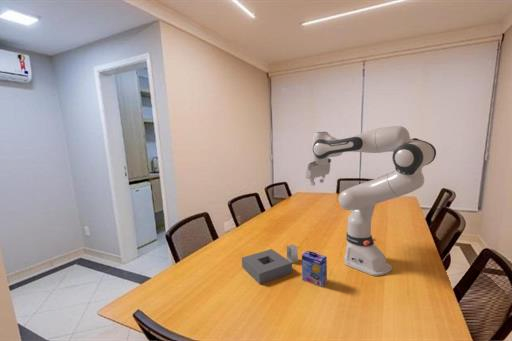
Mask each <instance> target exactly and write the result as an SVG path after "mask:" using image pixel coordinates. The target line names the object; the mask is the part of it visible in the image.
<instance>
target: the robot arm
mask: <svg viewBox="0 0 512 341" xmlns="http://www.w3.org/2000/svg"><path fill="white" fill-rule="evenodd" d="M311 150H312V151H311V154H310V161H309V163H308V164H307V166H306V171H305V178H306V179H309V180H310V181H309V182H310V186H316V185H315V184H316V182H315V179H316V178H319V183H321V184H323V183H324V182H325V177H326V176H327V175H329V174H330V171H331V163H332V158H334V157H336V158H337V157H339V156H341V155H342V154H343V153H347V152H348V153H349V152H352V153H367V154H381V153H388V152H393V153H392V155H391V156H392V163H393V165H394V166H395V167H394V168H395V170H393V171H390V172H389V173H386V174H383V175H381V176H378V177H376V178H374V179H373V178H372V179H369V180H368V181H365V182H362V183H359V184H355V185H353V186H351V187H348V188H345V189H344V190H343V191H341V192H340V193H339V194H338V199H337V201H338V204H339V205H340V207H341V209H343V210H345V211H351V212H350V213H349V215H348V217H347V223H346V224H347V231H346V236H345V237H346V238H345V239H346V248H345V252H344V255H343V256H344V257H343V260H344V265H345V266H348V267H350V268H353V269H355V270H358V271H360V272H363V273H366V274H368V275H370V276H373V277H375V276H376V277H379V276H383V275H386V274H388V273H390V272H391V271H392V268H393V267H392V265H391V264H389V263H387V259H386V258H387V257H386V255H385V253H383V252H382V250H381V249H380V248H379V247H378V246H377V245H376V244H375V242H376V238H373V235H372V233H371V232H372V220H373V215H374V210H375V207H376V205H377V204H380V203H384V202H386V201H389V200H392V199H396V198H398V197H402V196H406V195H407V194H410V193H413V192H414V191H416V190H419V189H420V188H421V187H423V186H424V183H425V177H424V174H423V172H422V169H423V168H424V167H425V166H427V165H430V164H432V162H434V160H435V158H436V157H437V149H436V147H435V146H434V145H433V144H432V143H431V142H428V141H426V140H423V139H422V140H421V139H420V138H415V137H414V138H411V136H410V132H409V131H408V129H407V128H406V127H404V126H399V125H396V126H394V125H393V126H385V127H384V126H383V127H378V128H375V129H371V130H367V131H365V132H362V133H359V134H356V135H353V136H351V137H347V138H342V139H341V138H340V139H339V138H336V137H334V136H332V135H330V133H329V132H328V131H318V132H315V133H314V134H313V137H312V140H311Z"/></svg>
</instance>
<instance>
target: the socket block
mask: <svg viewBox="0 0 512 341" xmlns="http://www.w3.org/2000/svg"><path fill="white" fill-rule="evenodd" d="M241 267H242V268H243V269H244V271H245V272H247V273H248V275H249V276H251V277H252V279H254V280H255V282H256V283H258V284H259V285H262V284H264V283H267V282H270V281H273V280H276V279H278V278H281V277H283V276H284V277H285V276H286V275H289V274H293V263H292V262H290V261H289V260H287V257H284V256H283V255H281V254H280V253H278V252H276V251H275V250H274V249H272V248H270V249H267V250H264V251H260V252H257V253H253V254H250V255H245V256H243V257H241Z"/></svg>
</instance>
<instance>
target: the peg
mask: <svg viewBox="0 0 512 341" xmlns="http://www.w3.org/2000/svg"><path fill="white" fill-rule="evenodd" d="M298 249H299V248H298V246H296V245H294V244H289V245H287V246H286V259H287V260H289V261H290V262H292V264H296V263H298V262H299V260H298V259H299V256H298V253H299V252H298Z"/></svg>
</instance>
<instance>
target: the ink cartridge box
mask: <svg viewBox="0 0 512 341" xmlns="http://www.w3.org/2000/svg"><path fill="white" fill-rule="evenodd" d="M327 258H328V257H327V255H323V254H319V253H317V252H314V251H310V250H306V251H305V252H304V253H302V254H301V273H302V275H301V278H302V281H304V282H307V283H310V284H313V285H314V286H317V287H320V288H323V287H324V286H325V285H326V284H327V282H328V270H327V268H328V266H327V263H328V261H327Z"/></svg>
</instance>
